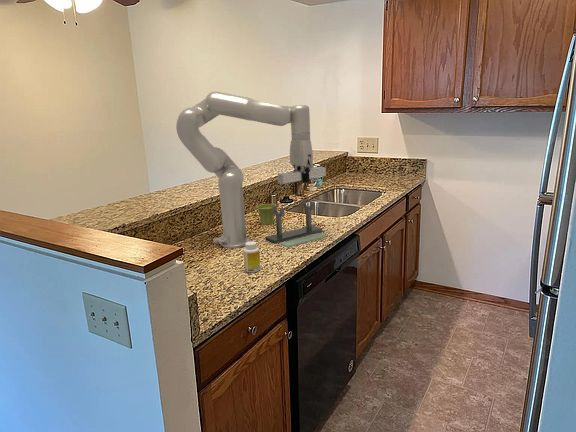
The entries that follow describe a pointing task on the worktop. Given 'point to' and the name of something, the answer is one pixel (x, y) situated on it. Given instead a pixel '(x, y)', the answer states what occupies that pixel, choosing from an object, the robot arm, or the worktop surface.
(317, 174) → the pale grey bar
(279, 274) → the worktop surface
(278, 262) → the worktop surface
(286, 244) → the rubber mat
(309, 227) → the hook rack
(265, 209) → the plant pot
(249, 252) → the supplement bottle
